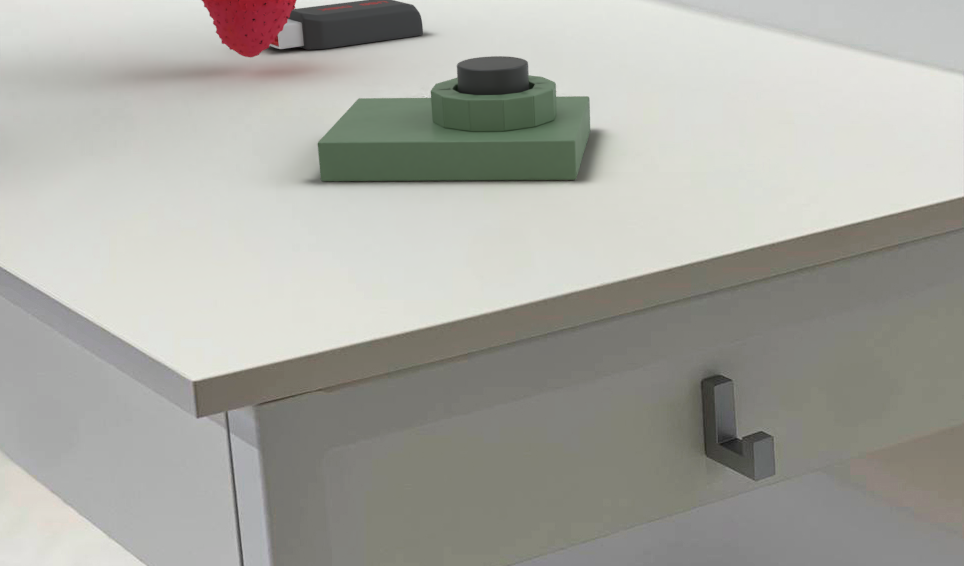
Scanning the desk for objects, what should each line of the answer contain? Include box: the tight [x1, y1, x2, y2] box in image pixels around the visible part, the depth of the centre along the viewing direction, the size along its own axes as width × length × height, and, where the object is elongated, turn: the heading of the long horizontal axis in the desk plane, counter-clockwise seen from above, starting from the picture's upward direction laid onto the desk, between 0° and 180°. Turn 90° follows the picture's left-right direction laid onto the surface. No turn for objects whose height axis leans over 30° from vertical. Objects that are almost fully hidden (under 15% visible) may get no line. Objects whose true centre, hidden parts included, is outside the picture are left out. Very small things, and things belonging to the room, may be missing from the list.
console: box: [317, 75, 591, 182], centre depth 92 cm, size 14×11×4 cm
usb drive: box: [269, 0, 424, 51], centre depth 128 cm, size 5×12×3 cm, turn 127°
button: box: [456, 55, 529, 95], centre depth 91 cm, size 4×4×2 cm
